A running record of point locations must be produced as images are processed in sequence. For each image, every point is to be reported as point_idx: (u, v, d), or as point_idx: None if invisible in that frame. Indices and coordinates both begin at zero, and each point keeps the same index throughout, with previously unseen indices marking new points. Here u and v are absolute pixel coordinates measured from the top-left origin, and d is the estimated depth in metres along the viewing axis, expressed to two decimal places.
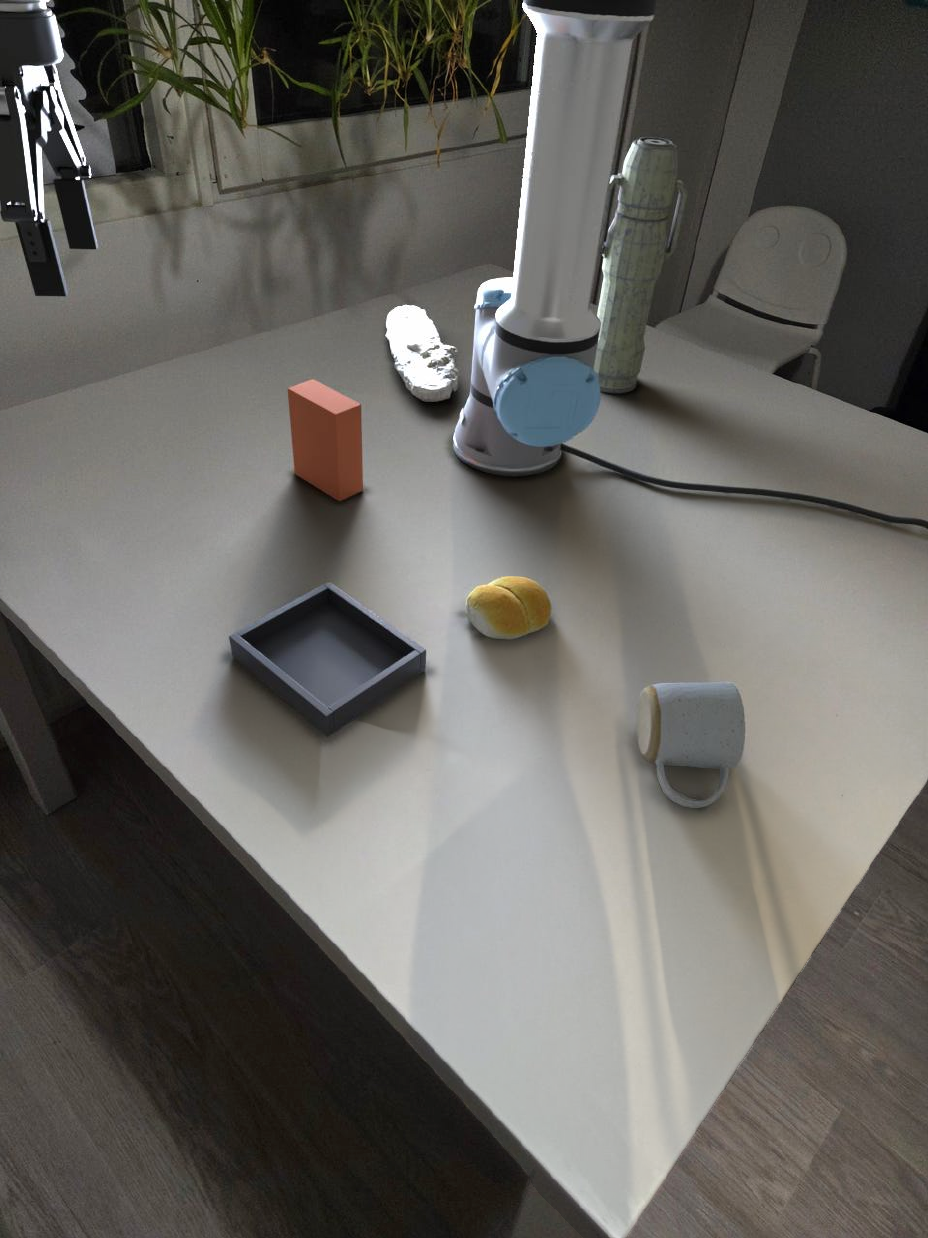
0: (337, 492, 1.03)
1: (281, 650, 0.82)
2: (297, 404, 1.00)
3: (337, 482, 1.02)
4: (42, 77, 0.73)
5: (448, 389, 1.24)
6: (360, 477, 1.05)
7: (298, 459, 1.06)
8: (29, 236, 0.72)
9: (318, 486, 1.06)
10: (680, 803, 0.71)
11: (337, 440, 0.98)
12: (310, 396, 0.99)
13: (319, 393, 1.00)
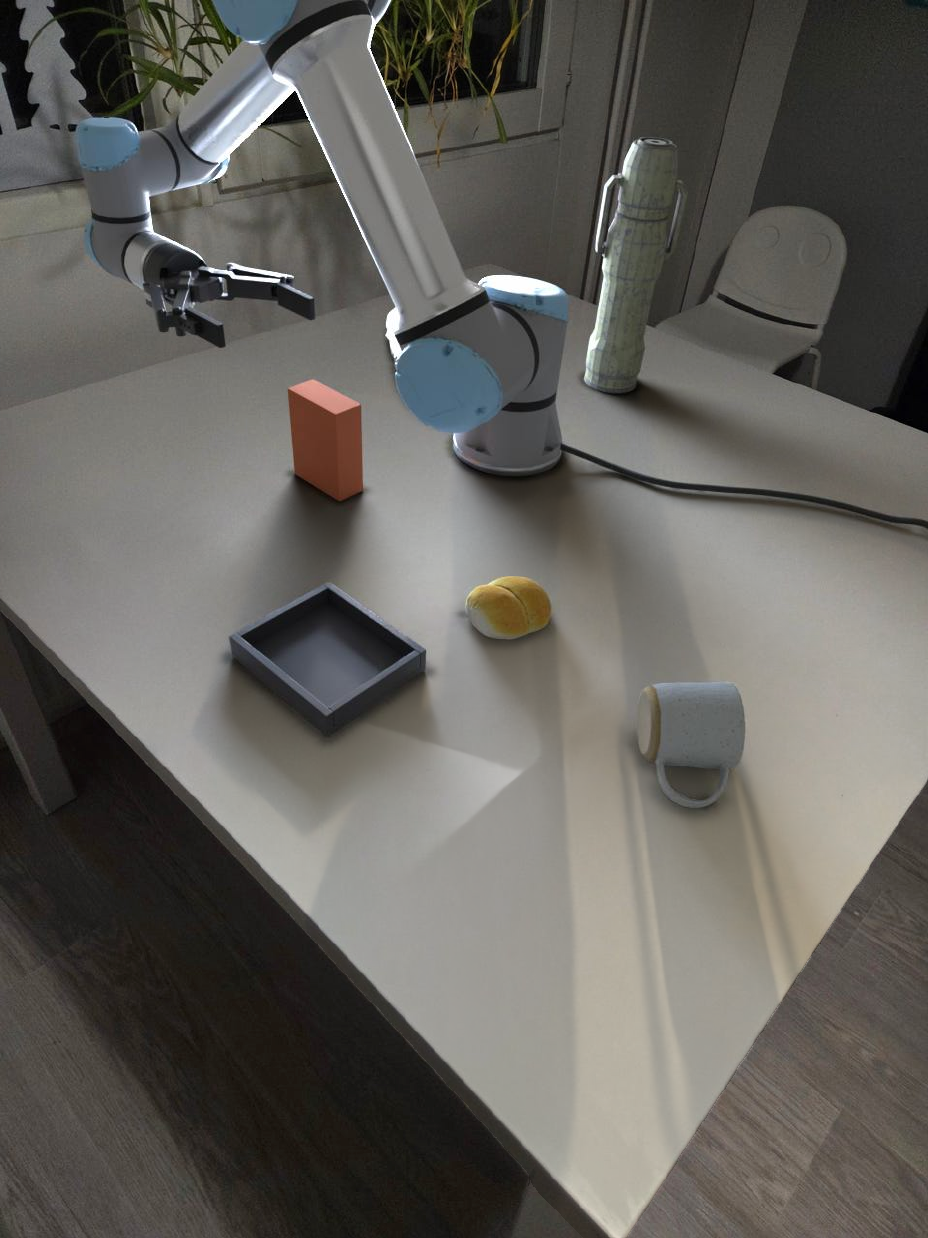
0: (337, 492, 1.03)
1: (281, 650, 0.82)
2: (297, 404, 1.00)
3: (337, 482, 1.02)
4: None
5: None
6: (360, 477, 1.05)
7: (298, 459, 1.06)
8: (182, 324, 0.97)
9: (318, 486, 1.06)
10: (680, 803, 0.71)
11: (337, 440, 0.98)
12: (310, 396, 0.99)
13: (319, 393, 1.00)
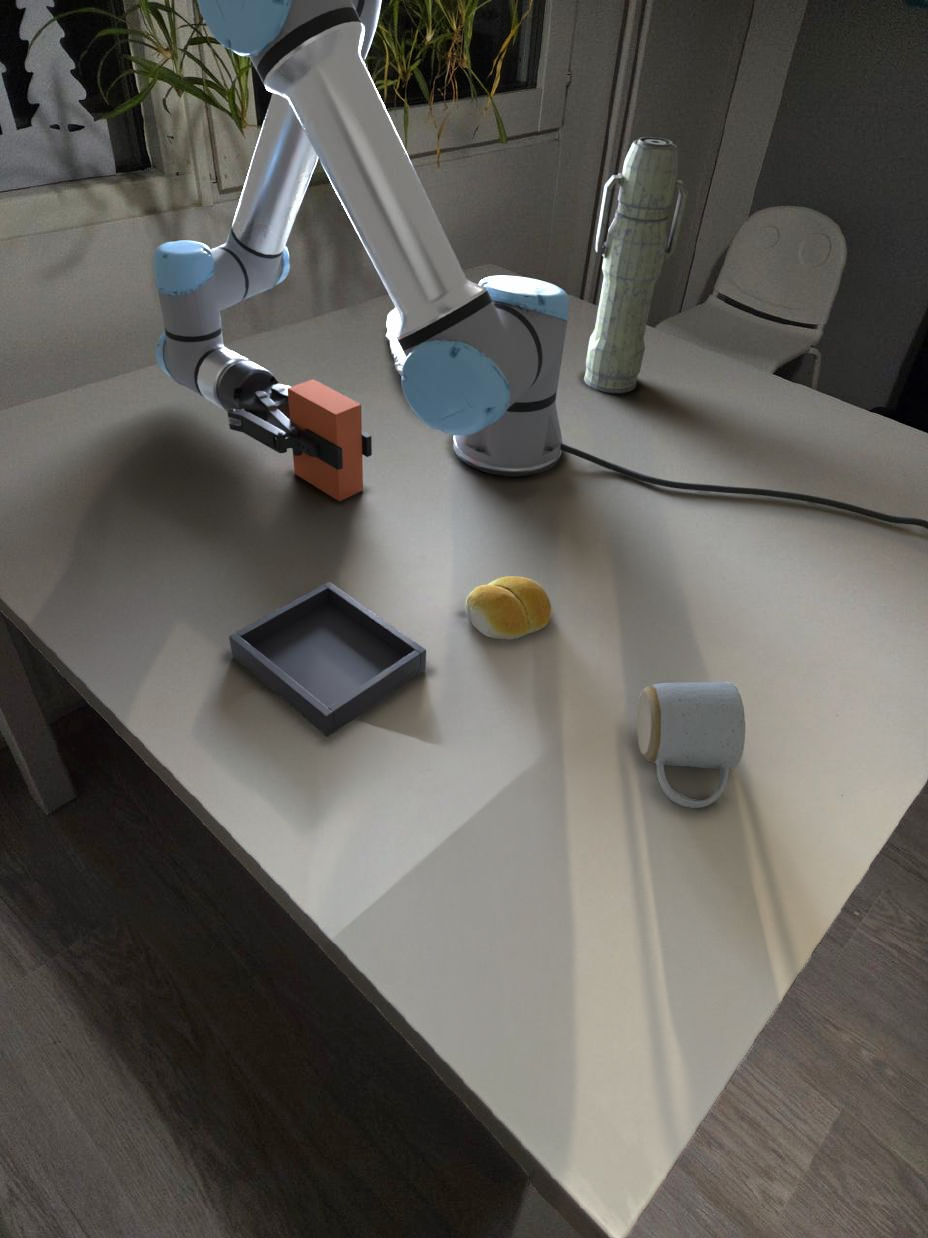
0: (337, 492, 1.03)
1: (281, 650, 0.82)
2: (297, 404, 1.00)
3: (337, 482, 1.02)
4: None
5: None
6: (360, 477, 1.05)
7: (298, 459, 1.06)
8: (300, 446, 1.01)
9: (318, 486, 1.06)
10: (680, 803, 0.71)
11: (337, 440, 0.98)
12: (310, 396, 0.99)
13: (319, 393, 1.00)
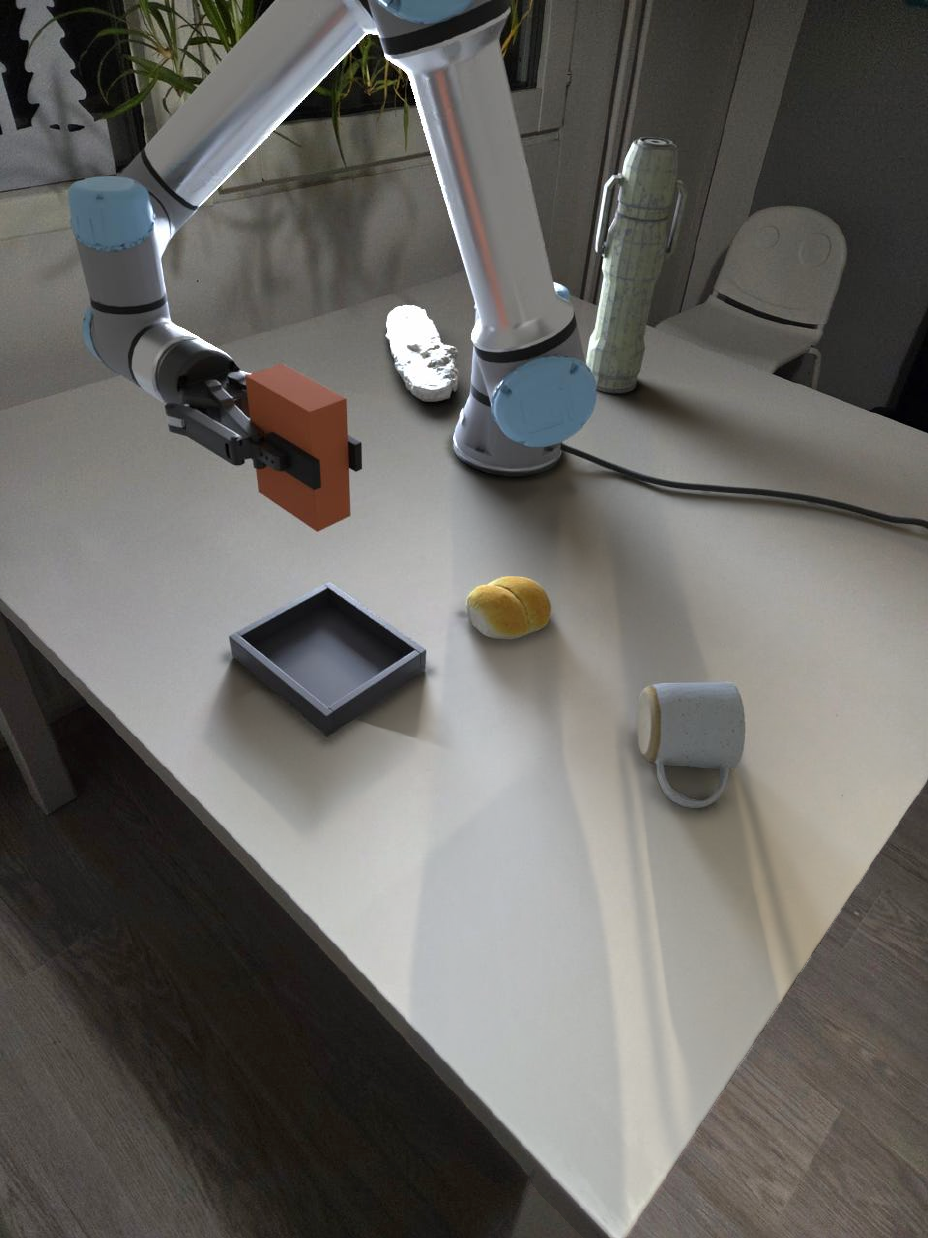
0: (314, 520, 0.75)
1: (281, 650, 0.82)
2: (258, 397, 0.72)
3: (314, 505, 0.74)
4: None
5: (448, 389, 1.24)
6: (347, 498, 0.76)
7: (262, 473, 0.78)
8: (263, 456, 0.72)
9: (289, 510, 0.77)
10: (680, 803, 0.71)
11: (313, 449, 0.70)
12: (275, 387, 0.71)
13: (288, 383, 0.71)
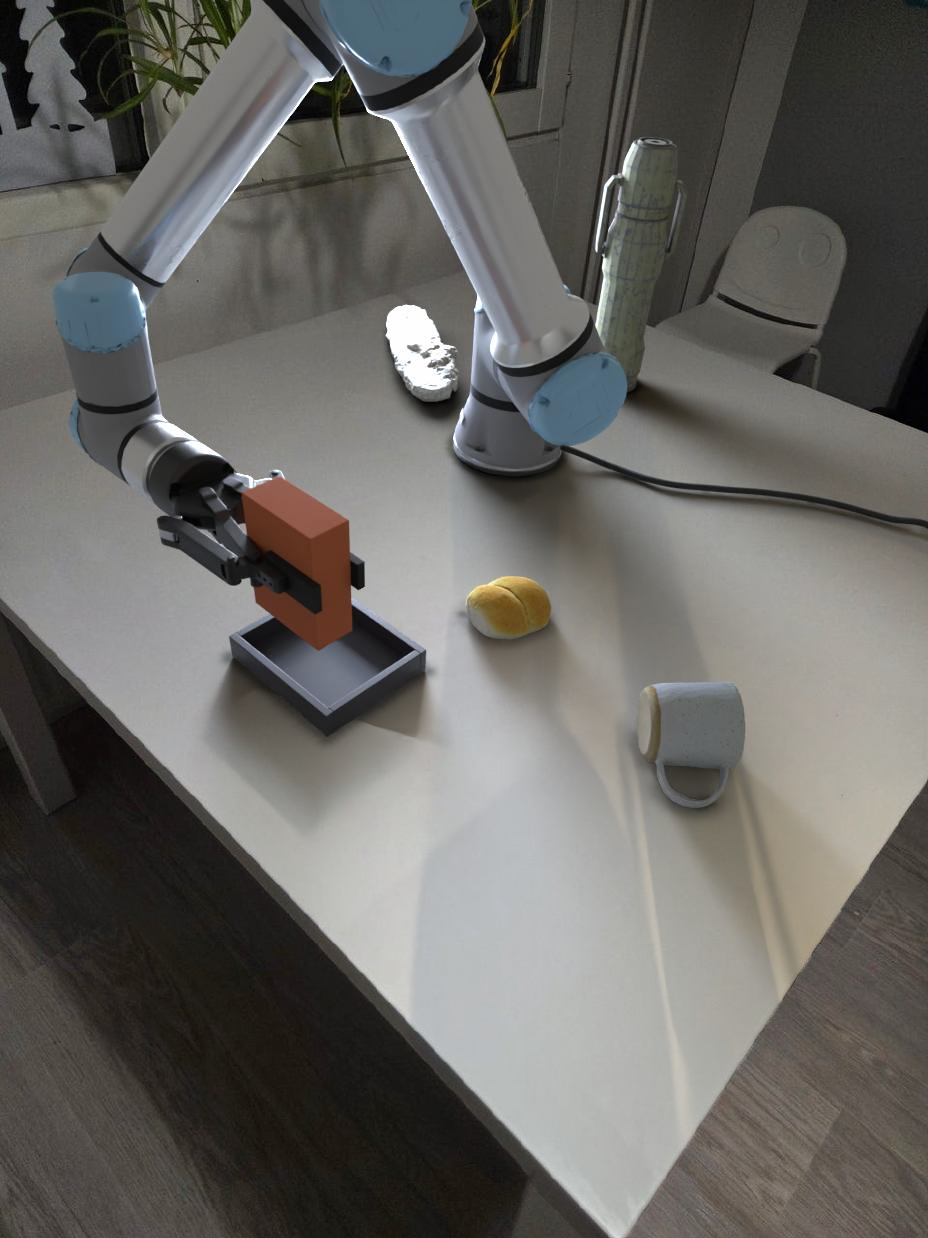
0: (315, 640, 0.71)
1: (281, 650, 0.82)
2: (255, 516, 0.69)
3: (314, 626, 0.70)
4: (232, 478, 0.78)
5: (448, 389, 1.24)
6: (349, 614, 0.73)
7: None
8: (261, 577, 0.69)
9: (288, 626, 0.74)
10: (680, 803, 0.71)
11: (314, 573, 0.67)
12: (273, 507, 0.67)
13: (287, 502, 0.68)
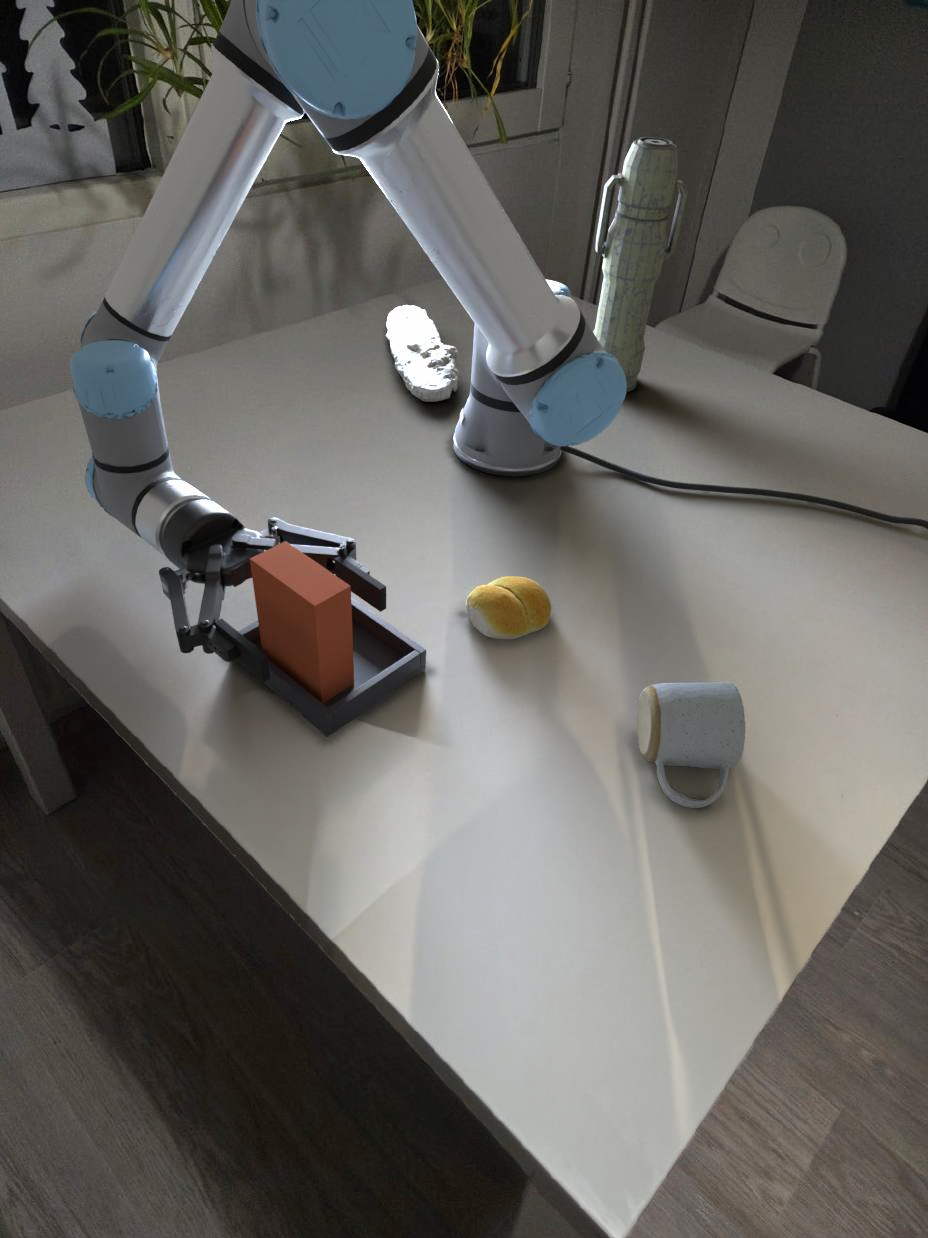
0: (319, 694, 0.76)
1: None
2: (263, 580, 0.73)
3: (318, 682, 0.75)
4: None
5: (448, 389, 1.24)
6: (351, 669, 0.77)
7: (267, 642, 0.79)
8: (212, 646, 0.72)
9: (294, 680, 0.78)
10: (680, 803, 0.71)
11: (318, 636, 0.71)
12: (280, 574, 0.72)
13: (293, 568, 0.72)
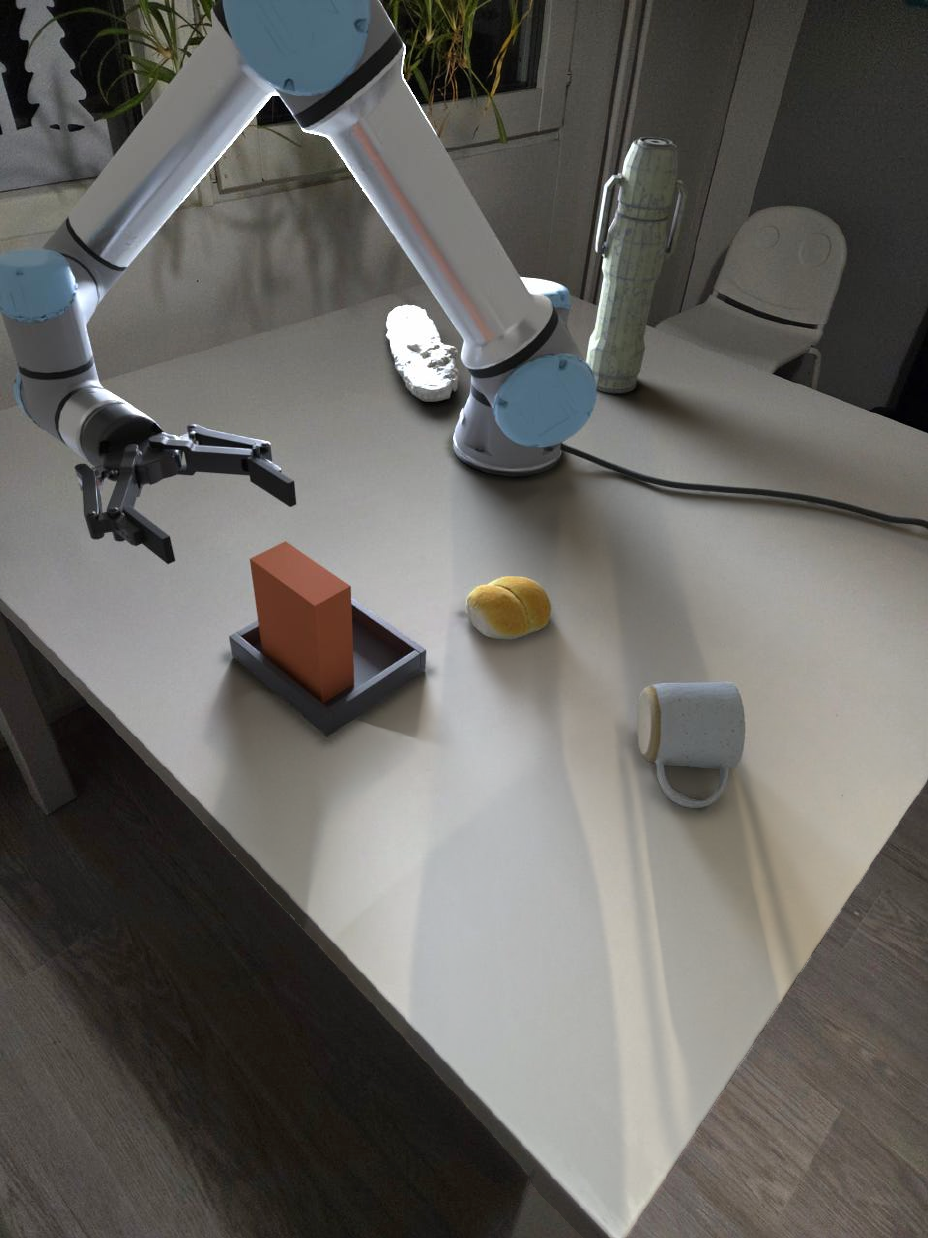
0: (319, 694, 0.76)
1: None
2: (263, 580, 0.73)
3: (318, 682, 0.75)
4: None
5: (448, 389, 1.24)
6: (351, 669, 0.77)
7: (267, 642, 0.79)
8: (120, 531, 0.74)
9: (294, 680, 0.78)
10: (680, 803, 0.71)
11: (318, 636, 0.71)
12: (280, 574, 0.72)
13: (293, 568, 0.72)
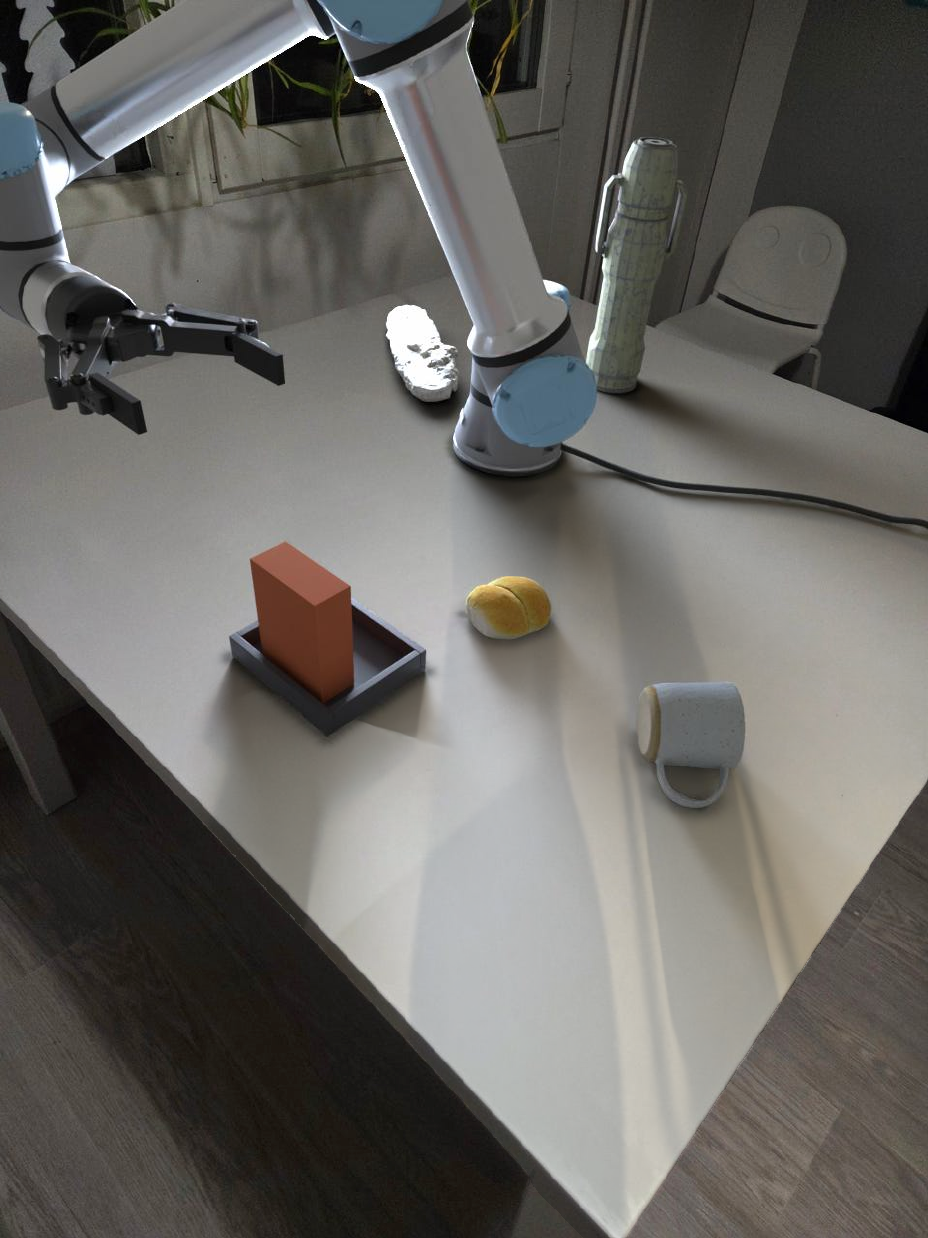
0: (319, 694, 0.76)
1: None
2: (263, 580, 0.73)
3: (318, 682, 0.75)
4: None
5: (448, 389, 1.24)
6: (351, 669, 0.77)
7: (267, 642, 0.79)
8: (85, 399, 0.66)
9: (294, 680, 0.78)
10: (680, 803, 0.71)
11: (318, 636, 0.71)
12: (280, 574, 0.72)
13: (293, 568, 0.72)
